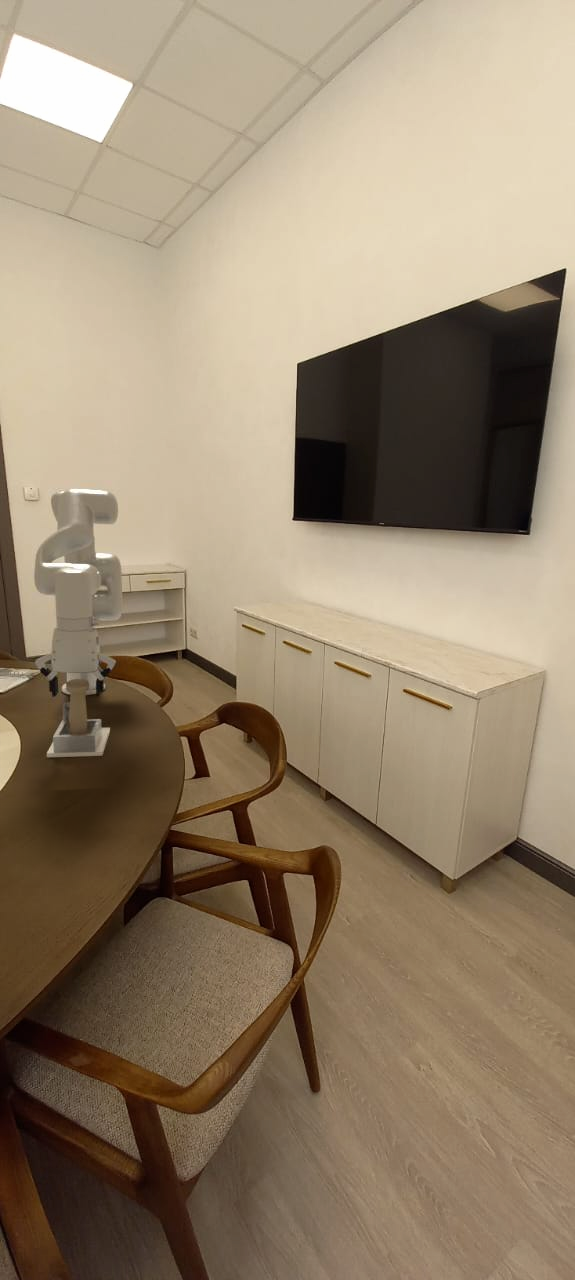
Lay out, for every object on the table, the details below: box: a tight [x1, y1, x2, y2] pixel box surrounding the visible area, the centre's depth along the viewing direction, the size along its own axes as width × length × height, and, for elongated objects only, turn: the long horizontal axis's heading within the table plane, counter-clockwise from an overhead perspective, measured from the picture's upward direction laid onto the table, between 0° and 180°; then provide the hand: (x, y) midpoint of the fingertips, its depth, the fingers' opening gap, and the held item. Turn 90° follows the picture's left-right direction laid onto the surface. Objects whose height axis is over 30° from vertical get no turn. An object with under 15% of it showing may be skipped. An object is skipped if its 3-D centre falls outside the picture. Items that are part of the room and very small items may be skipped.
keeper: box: [46, 701, 111, 758], centre depth 124 cm, size 14×12×9 cm
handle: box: [65, 679, 89, 735], centre depth 122 cm, size 5×6×15 cm
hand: (77, 694), depth 121 cm, fingers open, 9 cm apart
